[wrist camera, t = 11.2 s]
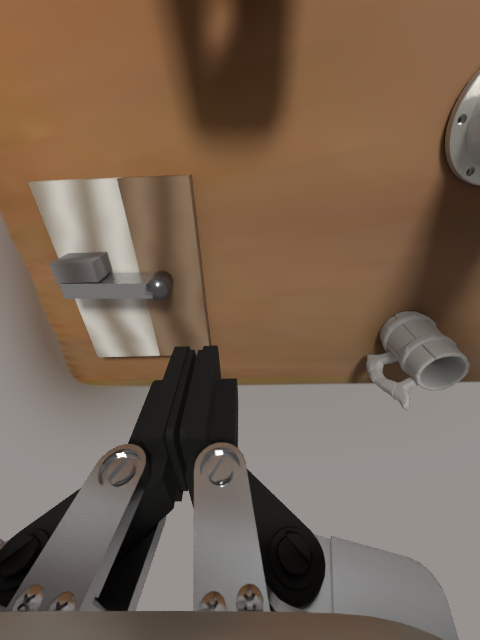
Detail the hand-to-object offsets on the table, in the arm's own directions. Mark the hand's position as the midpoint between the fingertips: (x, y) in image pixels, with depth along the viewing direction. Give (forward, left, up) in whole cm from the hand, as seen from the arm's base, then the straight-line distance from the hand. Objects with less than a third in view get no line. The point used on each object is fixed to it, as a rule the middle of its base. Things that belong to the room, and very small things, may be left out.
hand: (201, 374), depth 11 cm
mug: (-25, +18, -27) cm, 41 cm away
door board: (+13, +7, -27) cm, 31 cm away
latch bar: (+14, +6, -25) cm, 29 cm away
